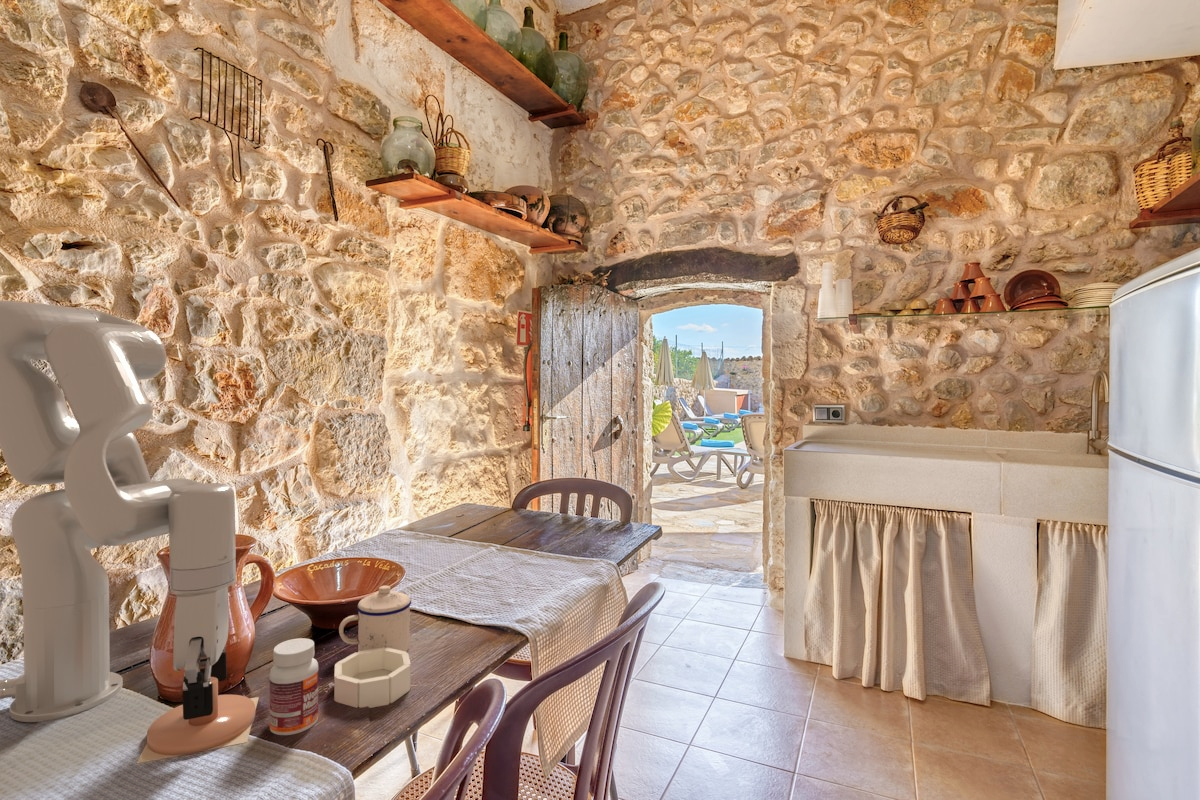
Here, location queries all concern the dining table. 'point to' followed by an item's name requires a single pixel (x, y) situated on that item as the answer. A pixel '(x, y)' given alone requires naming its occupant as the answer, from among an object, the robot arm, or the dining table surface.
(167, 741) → the lid
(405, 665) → the bowl
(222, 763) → the dining table surface
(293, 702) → the pill bottle
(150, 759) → the mat
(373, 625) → the teacup with lid
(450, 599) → the dining table surface
